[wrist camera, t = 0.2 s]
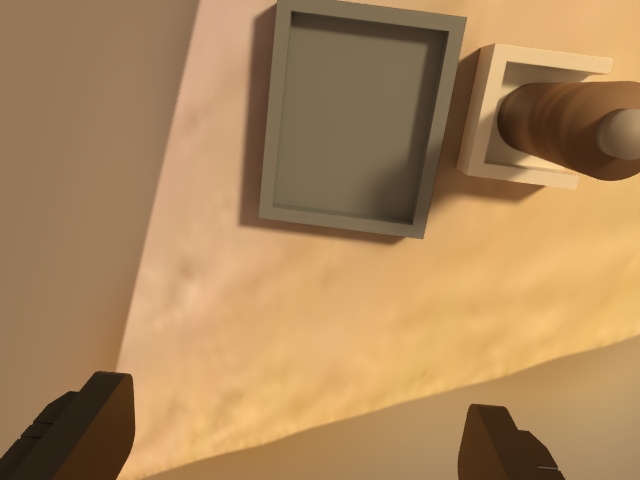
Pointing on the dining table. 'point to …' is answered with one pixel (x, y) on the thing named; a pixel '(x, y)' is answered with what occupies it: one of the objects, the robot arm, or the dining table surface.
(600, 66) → the caddy slot
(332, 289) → the dining table surface
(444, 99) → the serving tray
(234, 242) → the dining table surface
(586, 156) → the pepper mill
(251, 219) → the dining table surface
